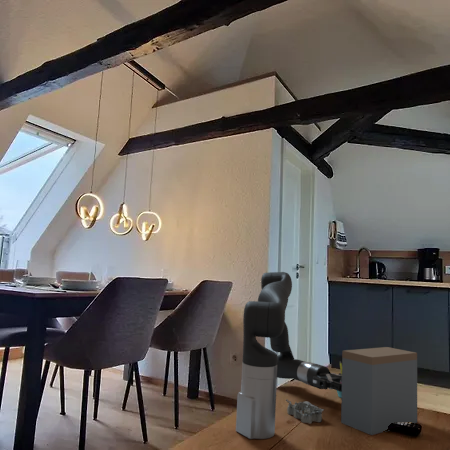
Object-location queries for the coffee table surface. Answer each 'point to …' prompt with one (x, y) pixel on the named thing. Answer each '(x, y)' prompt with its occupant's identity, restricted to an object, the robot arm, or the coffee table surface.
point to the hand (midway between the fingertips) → (352, 386)
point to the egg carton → (305, 411)
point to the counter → (378, 388)
